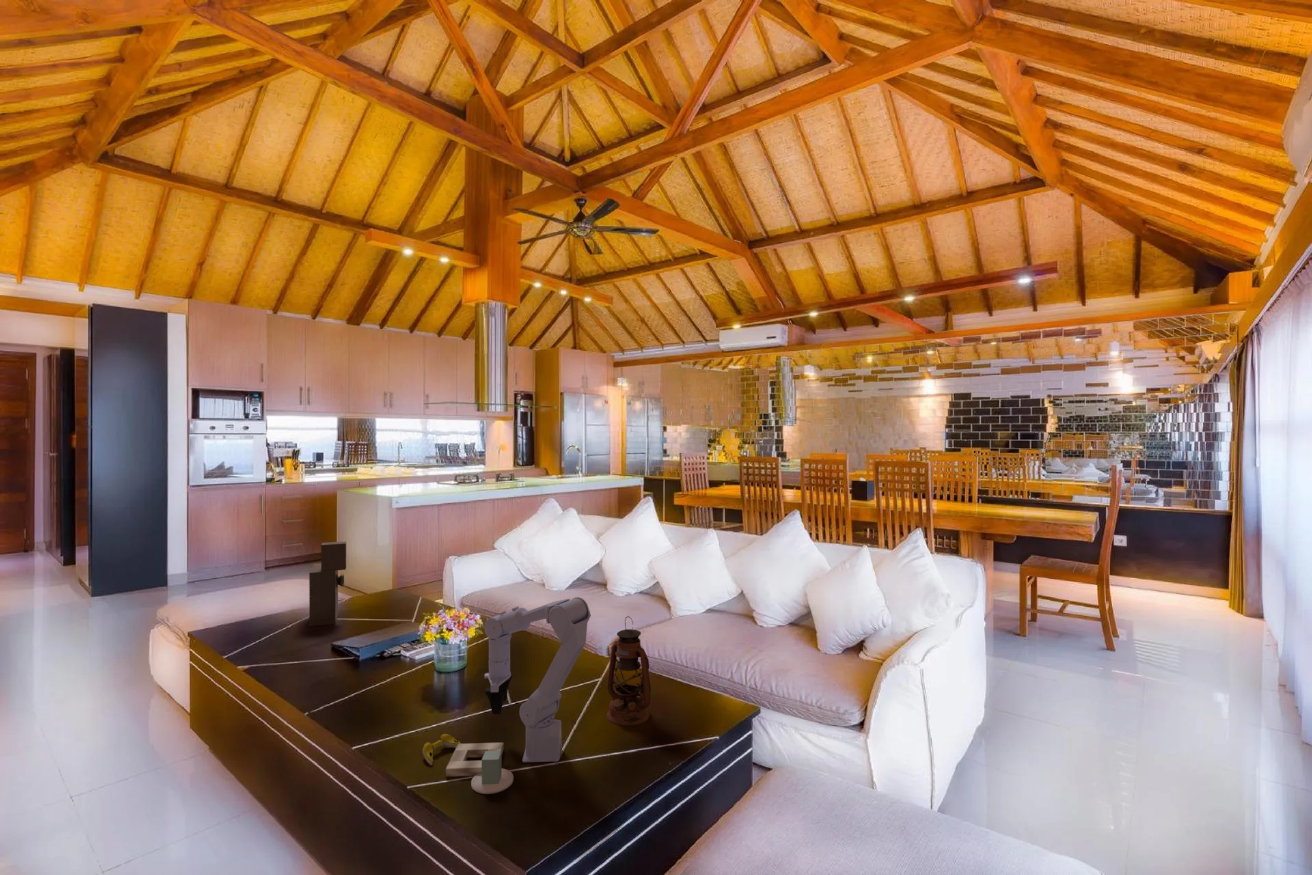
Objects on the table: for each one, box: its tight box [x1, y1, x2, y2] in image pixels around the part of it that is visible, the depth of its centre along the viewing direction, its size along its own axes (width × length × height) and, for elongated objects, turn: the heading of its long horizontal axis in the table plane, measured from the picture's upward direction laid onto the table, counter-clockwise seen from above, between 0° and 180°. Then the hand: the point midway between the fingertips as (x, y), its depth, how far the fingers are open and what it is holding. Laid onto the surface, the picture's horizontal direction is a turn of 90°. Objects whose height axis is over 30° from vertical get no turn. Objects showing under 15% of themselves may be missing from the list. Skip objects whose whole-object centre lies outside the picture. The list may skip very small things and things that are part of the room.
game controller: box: [422, 733, 462, 766], centre depth 164 cm, size 10×6×4 cm, turn 148°
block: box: [481, 751, 503, 784], centre depth 151 cm, size 4×4×6 cm
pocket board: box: [445, 742, 504, 777], centre depth 160 cm, size 12×12×2 cm
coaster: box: [470, 768, 514, 795], centre depth 151 cm, size 10×10×1 cm
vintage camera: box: [308, 541, 347, 627], centre depth 279 cm, size 19×14×35 cm
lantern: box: [606, 615, 652, 727], centre depth 186 cm, size 17×13×30 cm
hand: (499, 707), depth 171 cm, fingers open, 7 cm apart
